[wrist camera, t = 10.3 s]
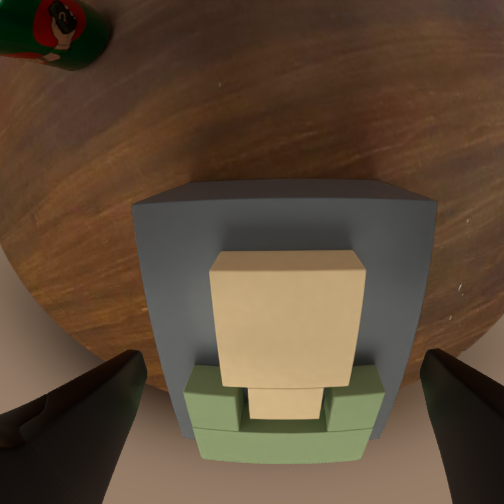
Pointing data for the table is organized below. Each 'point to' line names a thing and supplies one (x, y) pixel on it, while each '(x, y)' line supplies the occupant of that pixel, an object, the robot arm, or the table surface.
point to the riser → (283, 239)
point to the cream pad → (287, 326)
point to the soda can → (52, 32)
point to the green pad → (282, 422)
